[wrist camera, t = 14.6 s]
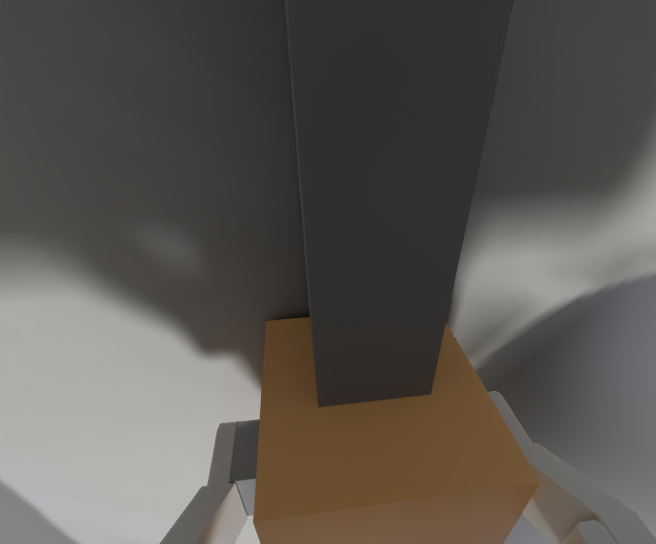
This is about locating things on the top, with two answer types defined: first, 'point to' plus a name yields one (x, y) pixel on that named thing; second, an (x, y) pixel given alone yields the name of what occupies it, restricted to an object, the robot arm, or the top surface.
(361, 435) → the plug
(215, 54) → the top surface
